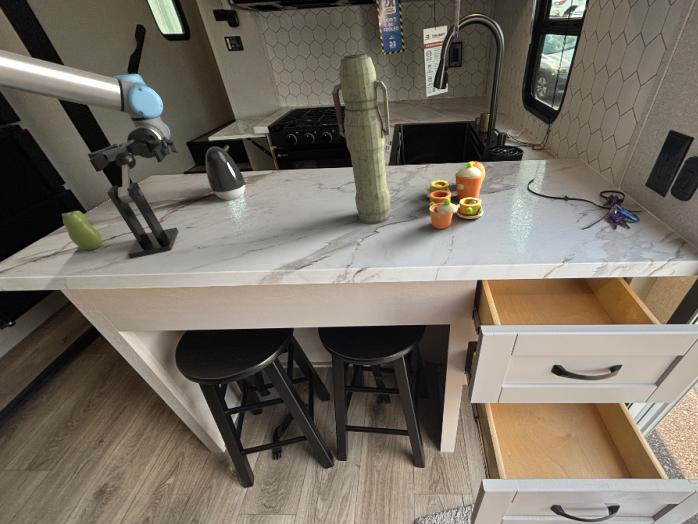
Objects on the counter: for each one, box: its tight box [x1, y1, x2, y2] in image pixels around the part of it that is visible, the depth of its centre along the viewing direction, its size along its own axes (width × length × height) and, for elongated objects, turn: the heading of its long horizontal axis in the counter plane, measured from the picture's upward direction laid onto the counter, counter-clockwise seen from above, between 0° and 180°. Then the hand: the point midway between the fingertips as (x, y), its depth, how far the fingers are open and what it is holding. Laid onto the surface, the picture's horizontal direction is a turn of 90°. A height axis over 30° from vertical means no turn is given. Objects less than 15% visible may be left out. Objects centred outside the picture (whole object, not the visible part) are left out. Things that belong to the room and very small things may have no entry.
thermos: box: [331, 53, 392, 225], centre depth 79 cm, size 9×12×35 cm
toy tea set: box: [425, 161, 484, 230], centre depth 87 cm, size 26×16×10 cm, turn 175°
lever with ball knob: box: [114, 152, 137, 204], centre depth 80 cm, size 14×4×4 cm, turn 19°
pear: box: [61, 210, 103, 251], centre depth 83 cm, size 6×5×10 cm
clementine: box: [463, 160, 486, 182], centre depth 100 cm, size 8×7×7 cm
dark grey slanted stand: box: [106, 181, 179, 259], centre depth 81 cm, size 11×9×15 cm
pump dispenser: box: [205, 144, 246, 201], centre depth 104 cm, size 10×10×15 cm
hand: (126, 161), depth 82 cm, fingers open, 13 cm apart
